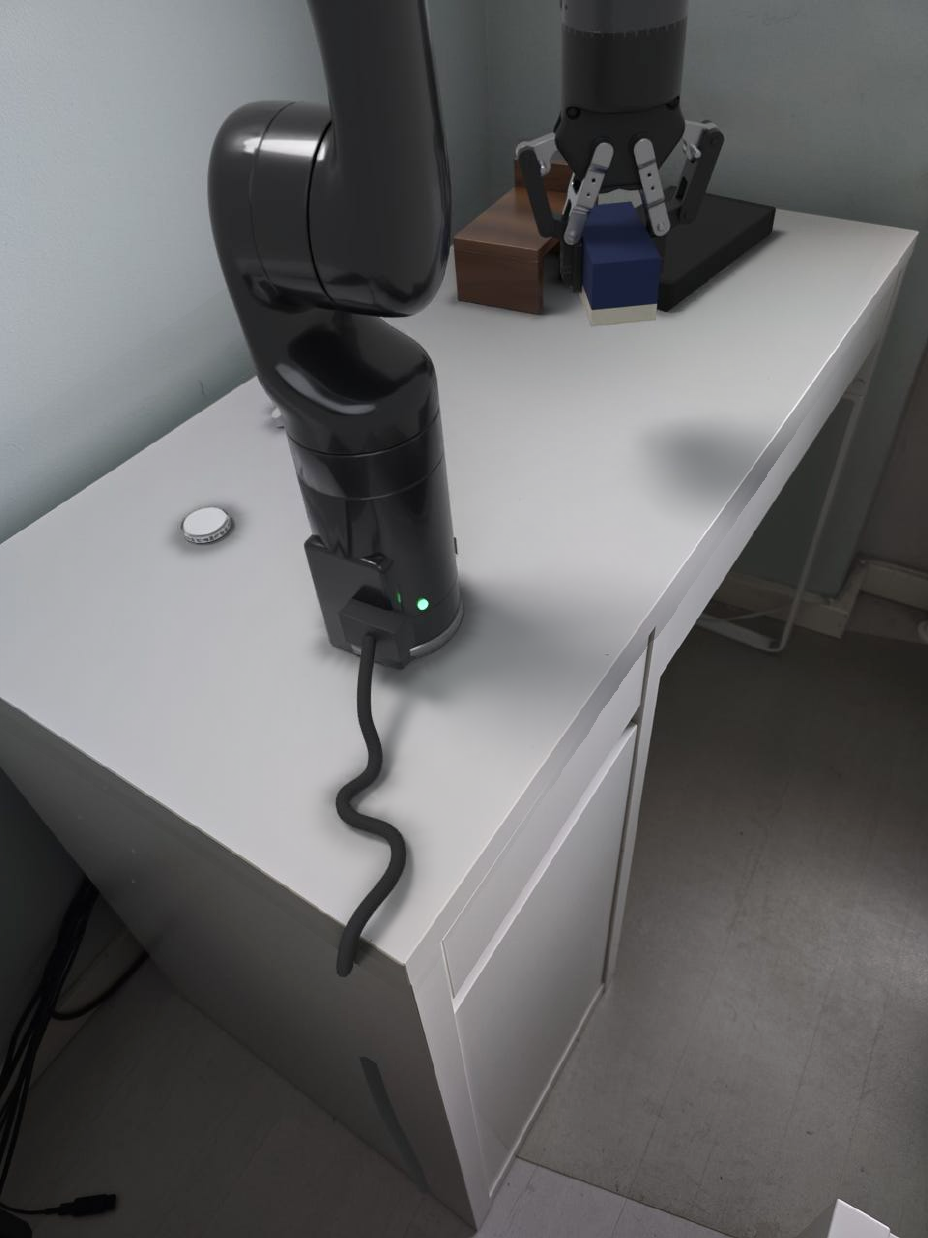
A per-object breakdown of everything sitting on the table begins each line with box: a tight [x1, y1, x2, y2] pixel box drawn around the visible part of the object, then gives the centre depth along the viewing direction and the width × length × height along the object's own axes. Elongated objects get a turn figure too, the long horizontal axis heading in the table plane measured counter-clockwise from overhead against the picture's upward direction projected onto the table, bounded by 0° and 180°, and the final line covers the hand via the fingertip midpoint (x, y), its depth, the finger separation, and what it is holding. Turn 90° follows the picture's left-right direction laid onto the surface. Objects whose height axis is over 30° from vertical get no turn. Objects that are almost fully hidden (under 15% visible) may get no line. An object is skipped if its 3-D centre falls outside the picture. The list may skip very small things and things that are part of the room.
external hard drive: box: [558, 185, 777, 313], centre depth 100 cm, size 14×23×3 cm, turn 139°
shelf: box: [452, 156, 600, 315], centre depth 97 cm, size 16×10×10 cm, turn 151°
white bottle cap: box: [180, 505, 232, 544], centre depth 72 cm, size 4×4×1 cm
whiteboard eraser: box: [578, 201, 661, 327], centre depth 63 cm, size 10×5×4 cm, turn 4°
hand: (610, 284), depth 64 cm, fingers closed on whiteboard eraser, 4 cm apart
